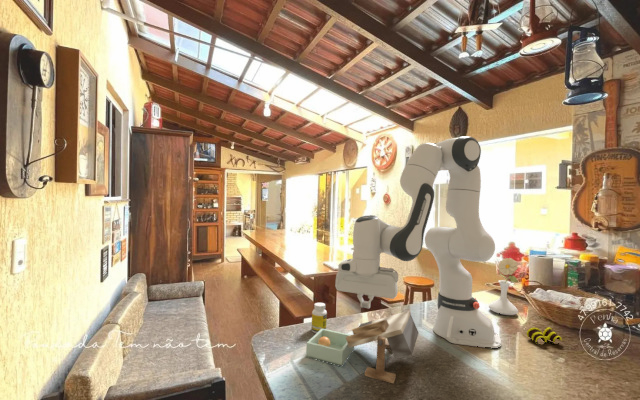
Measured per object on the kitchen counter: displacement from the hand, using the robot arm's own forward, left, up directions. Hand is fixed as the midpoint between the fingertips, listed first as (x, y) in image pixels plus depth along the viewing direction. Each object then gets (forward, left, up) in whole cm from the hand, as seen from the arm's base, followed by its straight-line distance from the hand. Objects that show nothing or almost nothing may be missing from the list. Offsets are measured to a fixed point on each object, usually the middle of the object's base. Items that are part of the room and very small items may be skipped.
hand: (365, 307), depth 104 cm
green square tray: (+8, +8, -13) cm, 18 cm away
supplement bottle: (+18, -5, -14) cm, 23 cm away
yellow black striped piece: (-56, -34, -14) cm, 67 cm away
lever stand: (-9, +4, -13) cm, 17 cm away
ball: (+11, +8, -11) cm, 17 cm away
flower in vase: (-47, -60, -14) cm, 77 cm away
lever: (-9, +4, -10) cm, 14 cm away
